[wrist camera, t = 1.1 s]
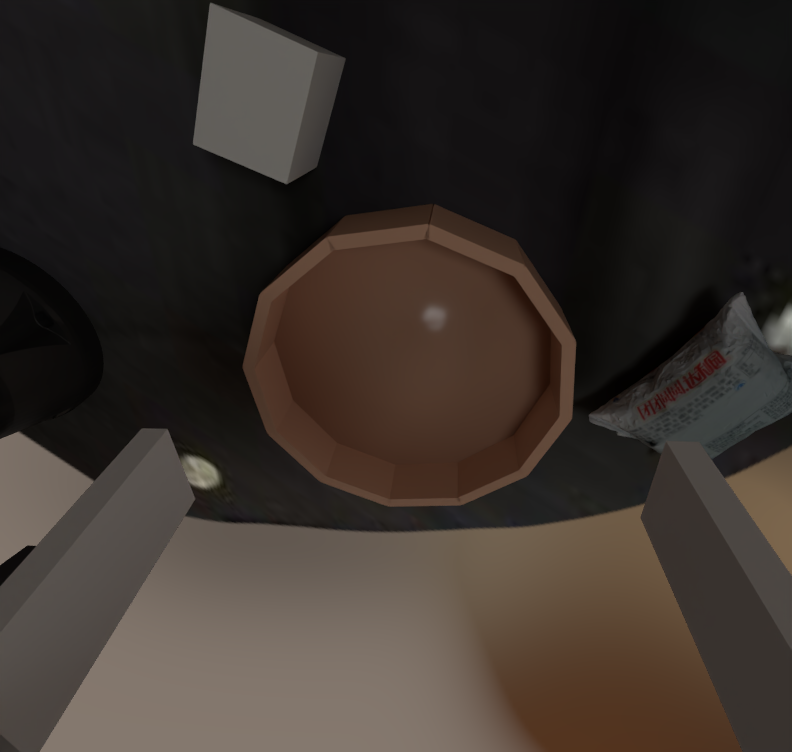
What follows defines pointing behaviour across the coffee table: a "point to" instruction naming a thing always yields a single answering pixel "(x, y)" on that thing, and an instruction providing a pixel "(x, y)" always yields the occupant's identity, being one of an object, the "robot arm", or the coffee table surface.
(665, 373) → the packaged food
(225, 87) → the grey cube
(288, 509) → the coffee table surface
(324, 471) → the bowl
